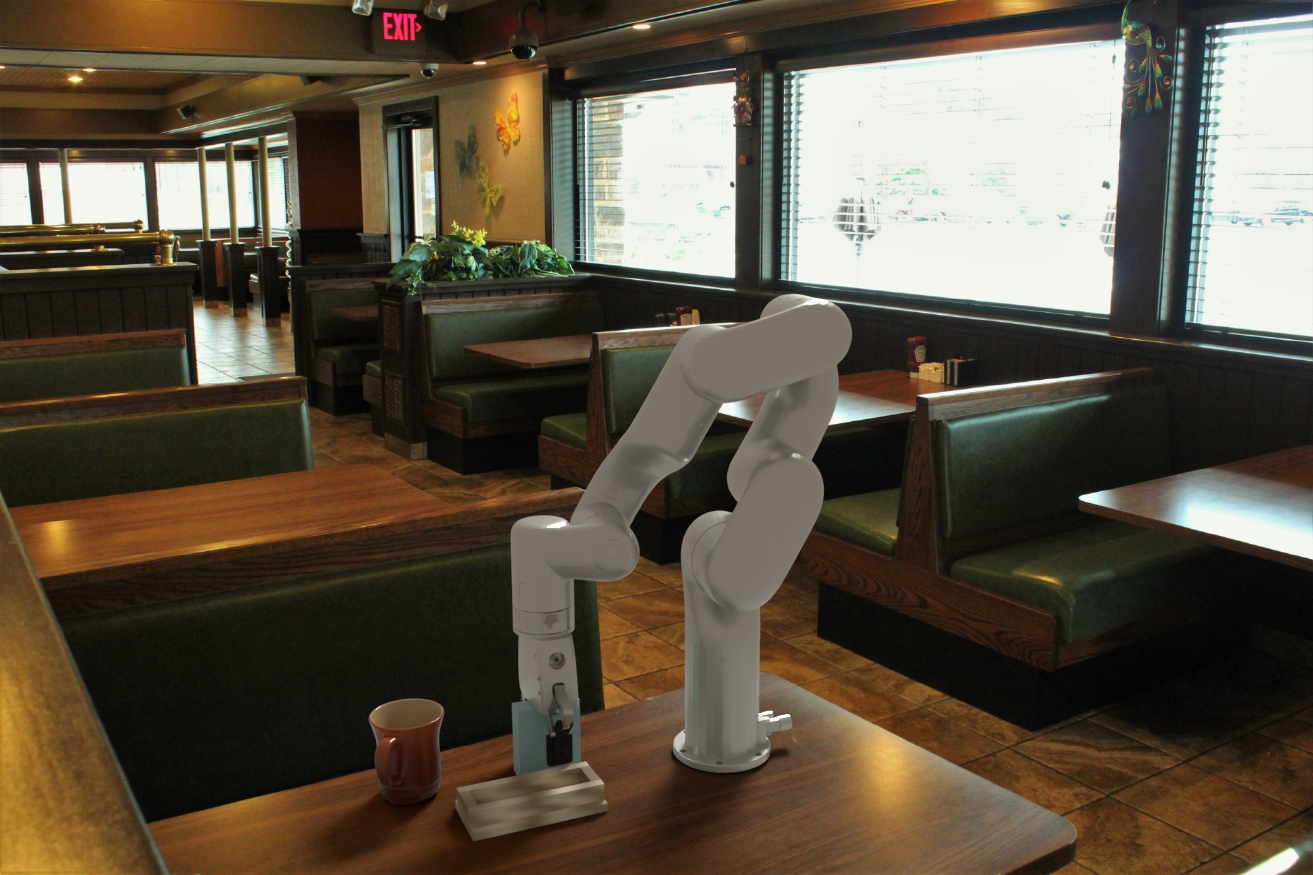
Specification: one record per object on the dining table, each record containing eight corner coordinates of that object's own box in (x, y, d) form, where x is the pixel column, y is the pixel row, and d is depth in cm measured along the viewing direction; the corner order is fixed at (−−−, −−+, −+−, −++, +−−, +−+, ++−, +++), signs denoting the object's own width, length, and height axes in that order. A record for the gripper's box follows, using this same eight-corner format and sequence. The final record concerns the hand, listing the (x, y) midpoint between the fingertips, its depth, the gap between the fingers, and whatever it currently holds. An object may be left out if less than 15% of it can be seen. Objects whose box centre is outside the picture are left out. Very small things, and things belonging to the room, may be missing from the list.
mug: (392, 772, 141) (388, 695, 140) (458, 779, 140) (455, 701, 138) (347, 821, 130) (342, 738, 128) (419, 829, 128) (415, 744, 126)
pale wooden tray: (583, 780, 139) (583, 758, 139) (607, 810, 132) (607, 787, 131) (455, 808, 133) (454, 784, 132) (473, 841, 126) (472, 816, 125)
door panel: (574, 758, 145) (572, 692, 144) (581, 766, 143) (579, 699, 141) (513, 770, 142) (511, 703, 140) (520, 779, 140) (517, 711, 138)
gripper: (597, 635, 132) (599, 771, 136) (550, 592, 148) (553, 715, 151) (536, 645, 129) (539, 783, 133) (494, 600, 145) (498, 725, 148)
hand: (546, 747), depth 142 cm, fingers open, 9 cm apart
